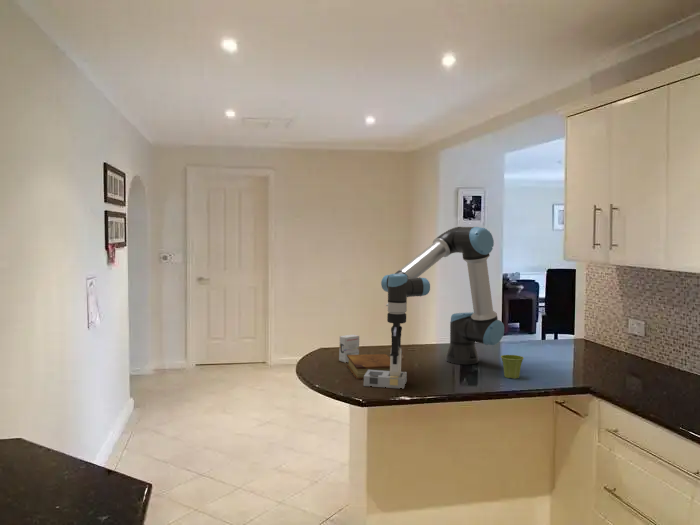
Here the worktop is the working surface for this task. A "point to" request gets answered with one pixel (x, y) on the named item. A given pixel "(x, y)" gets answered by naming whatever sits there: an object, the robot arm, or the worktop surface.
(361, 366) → the diary
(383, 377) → the socket block
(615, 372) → the worktop surface
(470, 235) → the robot arm
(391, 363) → the plug
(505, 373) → the plant pot
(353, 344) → the ink box
